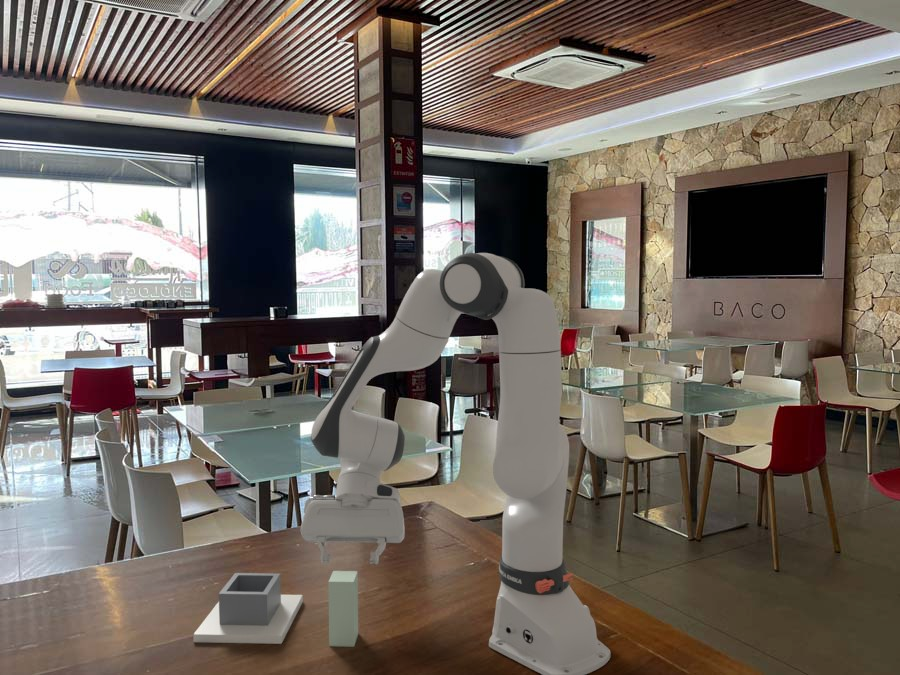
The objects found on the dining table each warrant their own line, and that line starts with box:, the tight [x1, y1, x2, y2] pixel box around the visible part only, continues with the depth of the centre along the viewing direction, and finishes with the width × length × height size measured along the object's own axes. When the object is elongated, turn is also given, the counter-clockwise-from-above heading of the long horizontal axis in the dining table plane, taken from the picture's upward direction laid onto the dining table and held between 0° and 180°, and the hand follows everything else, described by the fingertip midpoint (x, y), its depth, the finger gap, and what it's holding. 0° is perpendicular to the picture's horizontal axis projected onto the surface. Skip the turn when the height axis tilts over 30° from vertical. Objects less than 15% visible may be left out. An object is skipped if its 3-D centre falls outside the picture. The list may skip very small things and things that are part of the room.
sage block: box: [327, 570, 359, 648], centre depth 125 cm, size 4×4×12 cm
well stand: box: [192, 572, 304, 645], centre depth 132 cm, size 16×16×8 cm
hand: (349, 562), depth 131 cm, fingers open, 8 cm apart
